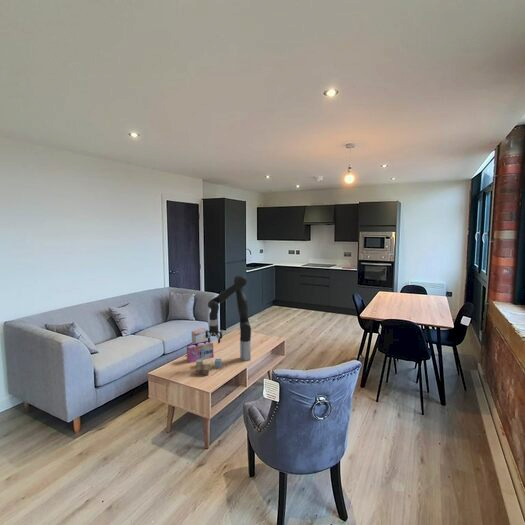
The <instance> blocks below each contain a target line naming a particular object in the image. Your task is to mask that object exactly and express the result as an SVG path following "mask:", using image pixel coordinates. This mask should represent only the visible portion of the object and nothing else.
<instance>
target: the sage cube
mask: <svg viewBox="0 0 525 525" xmlns="http://www.w3.org/2000/svg"><path fill="white" fill-rule="evenodd" d="M195 362H196V364H195V365H196V367H197V365H198V364H204V362H203V360H202V359H199V360H196V361H195Z"/></svg>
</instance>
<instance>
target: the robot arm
mask: <svg viewBox="0 0 525 525" xmlns="http://www.w3.org/2000/svg"><path fill="white" fill-rule="evenodd" d="M247 283H248V279H247V278H246V277H245V276H243V275H236V276H235V277H234V278H233V284H231V286H230V287H228V288H225V289H224V290H223V291H221V292H220V293H219V294H218V295H217V296H214V297H213V298H211V299H210V300H209V301H208V303H207V307H208V308H209V309H210V312H209V314H208V317H209V318H208V319H209V320H208V325H209V326H208V327H209V328H208V329H207V331H206V336H205V337H206V338H207V341H208V343H210V341H211V337H216V338H217V344H220V343H221V340H222V339H223V331H222V330H220V331H219V316H218V315H219V314H218V313H219V310H220V309H219V308H220V305H219V304H221V303H224V302H225V301H226V300H228V298H230V297H231V296H232V295H233V294H234V293H235V296H236V304H237V312H238V315H239V329H240V331H239V332H240V335H239V336H240V338H239V357H240V358H239V359H240V360H241V361H250V360H251V357H252V356H251V354H252V353H251V352H252V351H251V349H252V348H251V338H252V328H251V325H250V322H249V303H248V299H247V296H246V293H245V291H244V290H245V289H244V287H245V286H246V285H247Z"/></svg>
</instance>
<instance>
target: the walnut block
mask: <svg viewBox="0 0 525 525" xmlns="http://www.w3.org/2000/svg"><path fill="white" fill-rule="evenodd" d="M210 366H211V365H210V363H209V364H208V363H207V364H204V363H203V364H198V365H197V367H196V368H195V375H194V376H198V377H199V376H201V377H202V376H204V377H205V376H209V374H210V371H211V367H210Z"/></svg>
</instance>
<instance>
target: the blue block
mask: <svg viewBox="0 0 525 525" xmlns="http://www.w3.org/2000/svg"><path fill="white" fill-rule="evenodd" d="M221 368H222V358H215V359H214V369H221Z"/></svg>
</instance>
